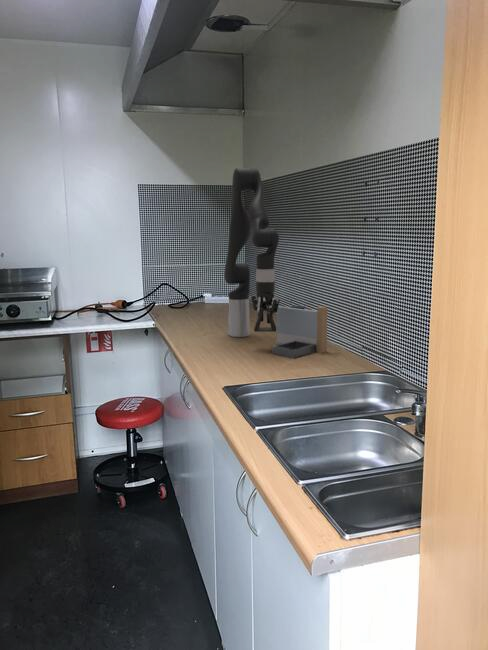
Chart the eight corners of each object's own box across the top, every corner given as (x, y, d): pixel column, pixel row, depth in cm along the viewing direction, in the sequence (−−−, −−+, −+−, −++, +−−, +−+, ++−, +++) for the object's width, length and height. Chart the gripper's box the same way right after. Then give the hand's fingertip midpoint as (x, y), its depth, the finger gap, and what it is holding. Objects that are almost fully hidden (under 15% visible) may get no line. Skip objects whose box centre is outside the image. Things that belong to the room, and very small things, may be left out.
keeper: (272, 353, 209) (272, 346, 208) (294, 347, 218) (294, 340, 218) (293, 358, 201) (293, 350, 201) (316, 351, 211) (316, 344, 210)
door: (275, 344, 226) (275, 302, 222) (280, 342, 228) (280, 301, 225) (321, 353, 209) (322, 307, 205) (326, 351, 211) (327, 306, 208)
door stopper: (276, 328, 217) (276, 299, 215) (276, 331, 212) (276, 302, 209) (254, 328, 218) (254, 299, 215) (253, 331, 212) (253, 302, 209)
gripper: (245, 279, 213) (246, 321, 216) (272, 282, 203) (271, 326, 207) (258, 277, 218) (258, 318, 222) (285, 280, 208) (284, 323, 212)
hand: (265, 322), depth 214 cm, fingers closed on door stopper, 4 cm apart
